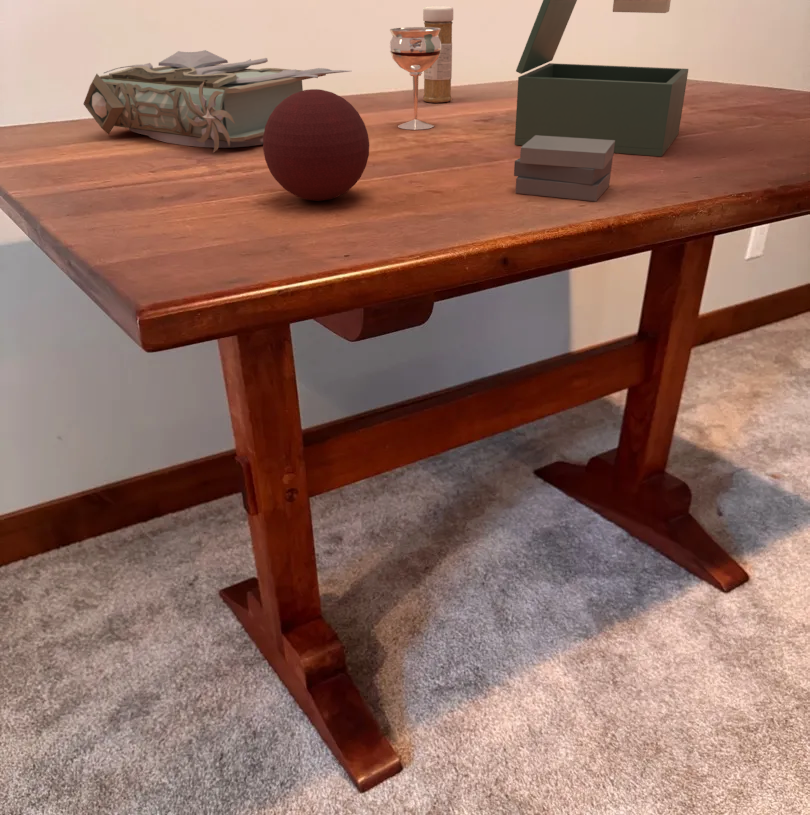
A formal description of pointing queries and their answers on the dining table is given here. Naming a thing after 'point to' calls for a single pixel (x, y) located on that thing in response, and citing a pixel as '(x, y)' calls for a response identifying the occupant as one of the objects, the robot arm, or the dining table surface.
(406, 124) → the wineglass
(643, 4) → the cream book
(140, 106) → the ornate book
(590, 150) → the grey books
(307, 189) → the decorative ball
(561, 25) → the lid
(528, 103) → the chest
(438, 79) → the sprinkles bottle
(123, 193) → the dining table surface
